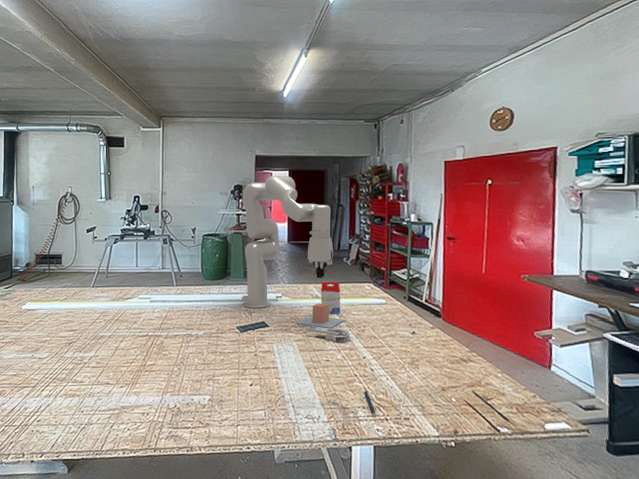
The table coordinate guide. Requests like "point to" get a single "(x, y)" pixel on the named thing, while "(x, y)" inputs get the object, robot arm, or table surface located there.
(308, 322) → the post fixture
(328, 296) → the ink box
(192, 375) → the table surface
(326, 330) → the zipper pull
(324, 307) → the salmon pink block
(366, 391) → the pencil
